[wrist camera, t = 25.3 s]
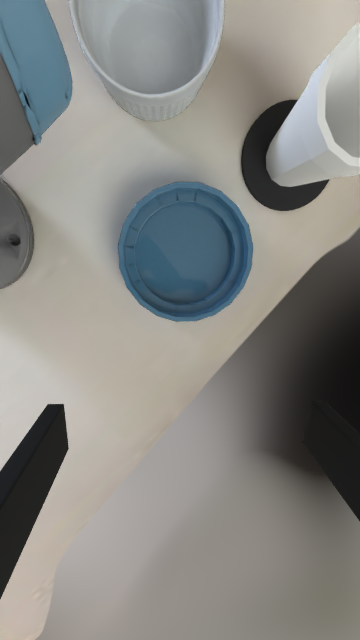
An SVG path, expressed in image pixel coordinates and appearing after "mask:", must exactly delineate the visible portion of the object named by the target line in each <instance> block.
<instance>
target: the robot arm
mask: <svg viewBox="0 0 360 640" xmlns="http://www.w3.org/2000/svg"><path fill="white" fill-rule="evenodd" d="M71 97H72V77H71V72H70V68H69V63H68V60H67V57H66V54H65V51H64V48H63V45H62V42H61V40H60V37H59V34H58V32H57V29H56V27H55V24H54V22H53V20H52V17H51V15H50V12H49V10H48V8H47V5H46V3H45V1H44V0H0V175H1V174H2V173H3V172H4V171H5V170H6V169H7V168H8V167H9V166H10V165H12V164H13V163H14V162H15V161H16V160H17V159H18V158H19V157H20V156H21V155H22V154H23V153H25V152H26V151H27V150H28V149H29V148H30V147H31V146H32V145H33V144H35V145H36V146H37V145H38V144H39V143H40V142H41V139H42V138H41V135H42V134H43V133H44V132H45V131H46V130H47V129H48V128H49V127H50V126H51V125H52V123H53V122H54V121H55V120H56V119H57V118H58V117H59V116H60V115H61V114H62V113H63V112H64V111H65V110H66V108H67V107H68V105H69V103H70V101H71ZM33 248H34V234H33V228H32V224H31V221H30V218H29V215H28V213H27V210H26V208H25V207H24V205H23V203H22V202H21V200H20V198H19V197H18V196H17V194H16V193H15V192H14V191H13V190H12V189H11V188H10V187H9V186H8V185H7V184H6V183H5V182H4V181H3V180H2V179H0V289H3V288H5V287H7V286H9V285H11V284H12V283H14V282H15V281H17V280H18V279H19V278H20V277H21V276H22V275H23V273H24V272H25V270H26V269H27V267H28V265H29V263H30V261H31V258H32V254H33ZM302 442H303V444H304V445H305V446H306V448H307V449H308V451H309V452H310V453H311V455H312V456H313V457H314V459H315V460H316V462H317V463H318V464H319V466H320V467H321V468H322V470H323V471H324V473H325V474H326V475H327V477H328V478H329V479H330V481H331V482H332V484H333V485H334V486H335V488H336V489H337V490H338V492H339V493H340V495H341V496H342V497H343V499H344V500H345V501H346V503H347V504H348V506H349V507H350V508H351V510H352V511H353V513H354V514H355V515H356V516H357V518H358V519H359V521H360V434H359V433H358V432H357V431H356V430H355V429H354V428H353V427H352V426H351V425H350V424H349V423H348V422H347V421H345V420H344V419H343V418H342V417H341V416H340V415H339V414H338V413H337V412H336V411H335V410H334V409H333V408H332V407H331V406H330V405H328V404H327V403H326V402H325V401H312V402H311V405H310V410H309V414H308V419H307V423H306V428H305V432H304V437H303V441H302ZM68 449H69V448H68V439H67V430H66V421H65V412H64V404H48V405H47V406H46V408H45V409H44V410H43V412H42V413H41V415H40V416H39V418H38V419H37V420H36V422H35V423H34V425H33V426H32V427H31V429H30V430H29V432H28V433H27V434H26V436H25V437H24V439H23V440H22V441H21V443H20V444H19V446H18V447H17V448H16V450H15V451H14V453H13V454H12V456H11V457H10V458H9V460H8V461H7V463H6V464H5V465H4V467H3V468H2V470H1V471H0V599H1V597H2V594H3V592H4V590H5V588H6V586H7V583H8V581H9V579H10V577H11V575H12V572H13V570H14V568H15V566H16V563H17V561H18V559H19V557H20V555H21V552H22V550H23V548H24V546H25V544H26V541H27V539H28V537H29V535H30V533H31V530H32V528H33V526H34V524H35V522H36V519H37V517H38V515H39V513H40V510H41V508H42V506H43V504H44V502H45V499H46V497H47V495H48V493H49V491H50V488H51V486H52V484H53V482H54V480H55V477H56V475H57V473H58V471H59V468H60V466H61V464H62V462H63V460H64V457H65V455H66V453H67V451H68Z"/></svg>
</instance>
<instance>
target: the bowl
mask: <svg viewBox="0 0 360 640" xmlns="http://www.w3.org/2000/svg"><path fill="white" fill-rule="evenodd" d="M118 254H119V267H120V271H121V273H122V276H123V279H124V281H125V284H126V286H127V288H128V290H129V291H130V292H131V293H132V295H133V296H134V297H135V299H136V300H137V301H138V302H139V304H140V305H142V306H143V307H145V308H146V309H148V310H149V311H151V312H152V313H154V314H155V315H157V316H159V317H163V318H166V319H169V320H173V321H198V320H201V319H204V318H207V317H210V316H213V315H215V314H217V313H218V312H220V311H221V310H222V309H224V308H225V307H227V306H228V305H230V303H232V301H233V300H234V299H235V298H236V296H237V295H238V294H239V293H240V291H241V290H242V289H243V287H244V285H245V283H246V280H247V278H248V275H249V273H250V270H251V266H252V254H253V243H252V239H251V234H250V230H249V225H248V223H247V222H246V220H245V218H244V216H243V215H242V213H241V211H240V209H239V208H238V206H237V205H236V204H235V203H234V202H232V201H231V200H230V199H229V198H228V197H227V196H226V195H224V194H223V193H222V192H221V191H219V190H217V189H214V188H212V187H209V186H207V185H204V184H202V183H199V182H175V183H172V184H169V185H166V186H163V187H160V188H157V189H154V190H153V191H152V192H150V193H149V194H148V195H147V196H145V197H144V198H143V199H141V200H140V201H139V202H138V203H137V204H136V205H135V206H134V208H133V209H132V211H131V213H130V214H129V216H128V217H127V219H126V220H125V222H124V224H123V228H122V232H121V236H120V240H119V243H118Z"/></svg>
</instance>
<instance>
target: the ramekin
mask: <svg viewBox="0 0 360 640" xmlns="http://www.w3.org/2000/svg"><path fill="white" fill-rule="evenodd" d="M69 6H70V13H71V17H72V22H73V26H74V29H75V32H76V35H77V38H78V40H79V43H80V46H81V48H82V51H83V53H84V55H85V57H86V59H87V61H88V62H89V64H90V66H91V67H92V69H93V70H94V72H95V73H96V75H97V76H98V77H99V78H100V80H101V81H102V83H103V84H104V86H105V88H106V89H107V91H108V92H109V93H110V95H111V96H112V98H113V99H114V100H115V101H116V102H117V103H118V105H120V106H121V107H122V108H123V109H124V110H125V111H127V112H129V113H130V114H131V115H134V116H136V117H137V118H141V119H143V120H148V121H160V120H161V121H163V120H166V119H170V118H171V117H174V116H176V115H177V114H179V113H181V112H182V111H183V110H184V109H186V108H187V107H188V105H189V104H190V103H191V102H192V101H193V99H194V98H195V97H196V95H197V94H198V91H199V90H200V88H201V86H202V84H203V82H204V79H205V77H206V76H207V74H208V73H209V71H210V69H211V67H212V65H213V63H214V61H215V58H216V55H217V52H218V49H219V45H220V41H221V37H222V32H223V26H224V16H225V0H69Z"/></svg>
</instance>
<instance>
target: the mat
mask: <svg viewBox="0 0 360 640" xmlns="http://www.w3.org/2000/svg"><path fill="white" fill-rule="evenodd" d="M297 101H298V100H288V101H283V102H280V103H277V104H275V105H273V106H272V107H270V108H269V109H267V110H266V111H265V112H264V113H262V114H261V115H260V116H259V118H258V119H257V120H256V121H255V123H254V124H253V126H252V127H251V129H250V131H249V133H248V134H247V137H246V140H245V142H244V146H243V151H242V172H243V177H244V180H245V183H246V185H247V187H248V189H249V191H250V193H251V194H252V195H253V197H254V198H255V199H256V200H257V201H258V202H260V203H261V204H262V205H264V206H266V207H268V208H270V209H274V210H279V211H288V210H294V209H297V208H300V207H302V206H304V205H306V204H308V203H309V202H311V201H312V200H314V199H315V198H316V197H317V196H318V195H319V194H320V193H321V192H322V190H323V189H324V188H325V186H326V185H327V183H328V181H329V179H328V180H323V181H318V182H313V183H308V184H303V185H299V186H294V187H293V186H292V187H287V186H280V185H279V184H277V183H276V182H274V181H273V180H272V179H271V177H270V175H269V173H268V171H267V169H266V154H267V151H268V148H269V145H270V143H271V142H272V140H273V138H274V136H275V135H276V133H277V132H278V130H279V129H280V127H281V126H282V124H283V123H284V121H285V119H286V118H287V116H288V115H289V113H290V112H291V110H292V109H293V107H294V106H295V104H296V102H297Z"/></svg>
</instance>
